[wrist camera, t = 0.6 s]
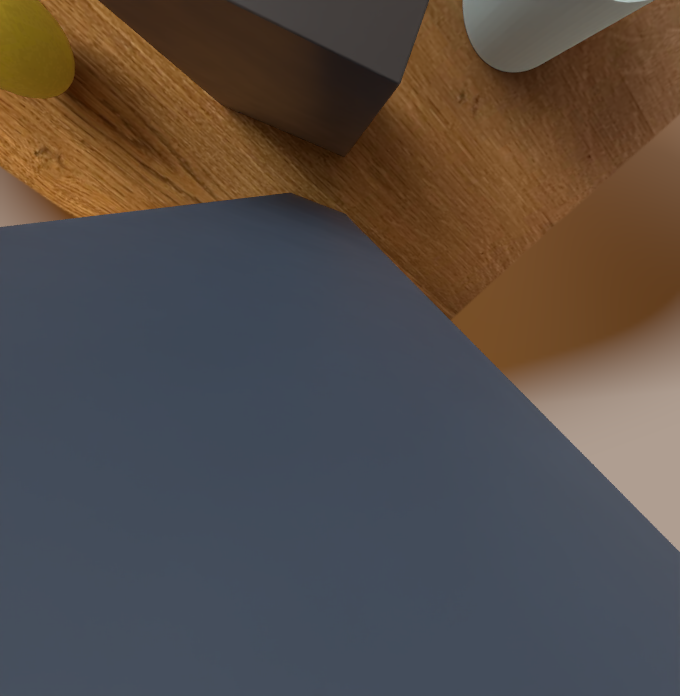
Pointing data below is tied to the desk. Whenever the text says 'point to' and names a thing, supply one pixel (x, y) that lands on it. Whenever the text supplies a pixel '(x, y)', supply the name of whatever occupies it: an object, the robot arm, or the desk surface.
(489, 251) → the desk surface
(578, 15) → the mug
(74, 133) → the desk surface
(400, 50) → the plinth
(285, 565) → the dark blue long block
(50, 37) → the lemon
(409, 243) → the desk surface
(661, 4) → the desk surface
